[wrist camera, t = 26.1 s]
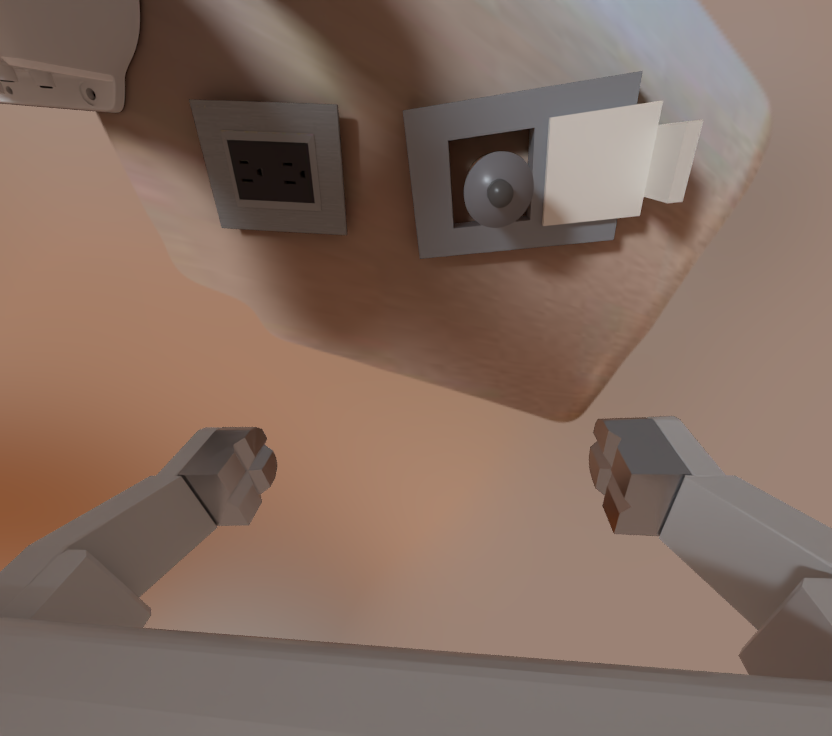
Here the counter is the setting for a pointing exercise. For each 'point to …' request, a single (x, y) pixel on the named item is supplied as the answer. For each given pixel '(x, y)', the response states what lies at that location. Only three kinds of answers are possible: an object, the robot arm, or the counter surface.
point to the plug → (498, 189)
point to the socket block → (520, 112)
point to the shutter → (615, 163)
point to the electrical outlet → (273, 164)
